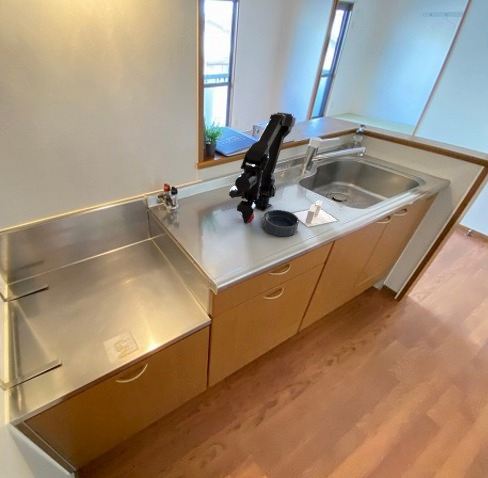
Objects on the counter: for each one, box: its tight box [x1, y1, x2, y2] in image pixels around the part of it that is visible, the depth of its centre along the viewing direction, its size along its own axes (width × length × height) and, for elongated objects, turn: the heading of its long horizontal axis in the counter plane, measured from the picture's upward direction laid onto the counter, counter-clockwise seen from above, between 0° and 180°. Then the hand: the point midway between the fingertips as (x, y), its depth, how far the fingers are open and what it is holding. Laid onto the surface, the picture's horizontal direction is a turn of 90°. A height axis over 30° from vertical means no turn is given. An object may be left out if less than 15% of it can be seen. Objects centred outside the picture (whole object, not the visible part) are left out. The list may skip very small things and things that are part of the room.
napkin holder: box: [292, 199, 338, 228], centre depth 114 cm, size 15×11×6 cm
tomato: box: [241, 212, 255, 224], centre depth 111 cm, size 5×5×5 cm
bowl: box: [262, 209, 300, 237], centre depth 108 cm, size 13×13×4 cm
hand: (247, 217), depth 112 cm, fingers open, 9 cm apart
